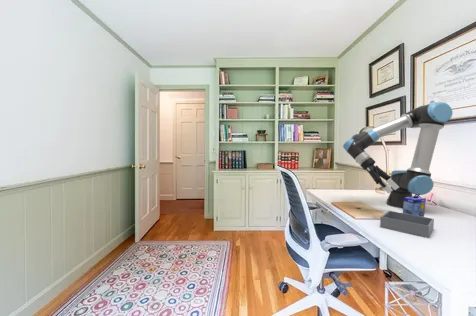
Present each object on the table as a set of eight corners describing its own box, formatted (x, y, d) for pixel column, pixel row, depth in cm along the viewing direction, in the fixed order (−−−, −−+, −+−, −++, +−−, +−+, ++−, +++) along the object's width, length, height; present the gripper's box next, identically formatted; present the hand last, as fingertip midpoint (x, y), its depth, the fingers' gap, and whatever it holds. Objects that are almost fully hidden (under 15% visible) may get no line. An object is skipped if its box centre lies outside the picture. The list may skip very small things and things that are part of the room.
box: (388, 220, 121) (389, 210, 121) (433, 229, 108) (433, 218, 108) (380, 227, 111) (380, 216, 110) (428, 238, 98) (429, 226, 97)
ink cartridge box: (413, 223, 116) (414, 194, 116) (401, 220, 121) (402, 192, 121) (424, 221, 120) (426, 193, 120) (413, 218, 125) (414, 191, 125)
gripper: (367, 164, 147) (393, 191, 137) (352, 166, 130) (381, 197, 120) (377, 156, 143) (405, 183, 133) (362, 157, 125) (393, 188, 115)
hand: (393, 190), depth 126 cm, fingers open, 13 cm apart
